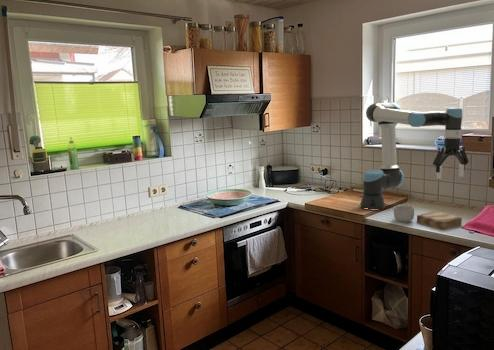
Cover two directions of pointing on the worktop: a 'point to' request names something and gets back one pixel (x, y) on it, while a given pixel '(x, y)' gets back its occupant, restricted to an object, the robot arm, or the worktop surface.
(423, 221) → the block
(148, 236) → the worktop surface
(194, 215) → the worktop surface
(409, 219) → the teacup
